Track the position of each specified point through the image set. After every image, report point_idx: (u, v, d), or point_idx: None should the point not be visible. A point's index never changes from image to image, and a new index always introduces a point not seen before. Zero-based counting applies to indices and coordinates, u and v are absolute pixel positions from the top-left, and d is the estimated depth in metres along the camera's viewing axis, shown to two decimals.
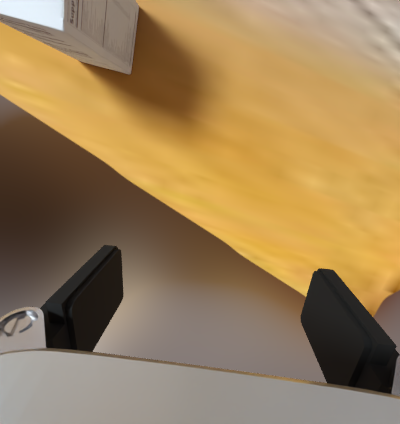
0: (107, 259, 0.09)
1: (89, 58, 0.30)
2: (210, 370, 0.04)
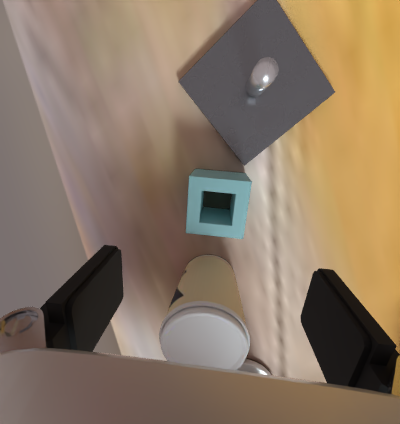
0: (107, 259, 0.09)
1: None
2: (210, 370, 0.04)
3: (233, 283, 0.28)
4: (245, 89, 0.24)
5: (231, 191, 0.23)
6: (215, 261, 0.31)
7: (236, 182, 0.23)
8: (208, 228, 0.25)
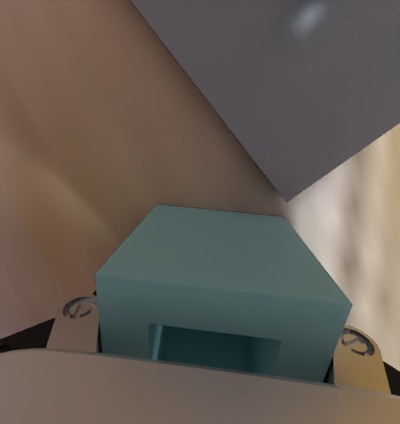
0: None
1: None
2: (210, 370, 0.04)
3: None
4: None
5: (263, 331, 0.06)
6: None
7: (286, 303, 0.06)
8: None
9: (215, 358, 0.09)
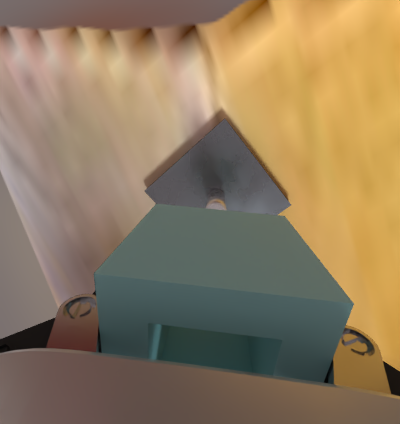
0: None
1: None
2: (210, 370, 0.04)
3: None
4: (207, 200, 0.26)
5: (264, 331, 0.06)
6: None
7: (287, 303, 0.05)
8: None
9: (215, 358, 0.09)
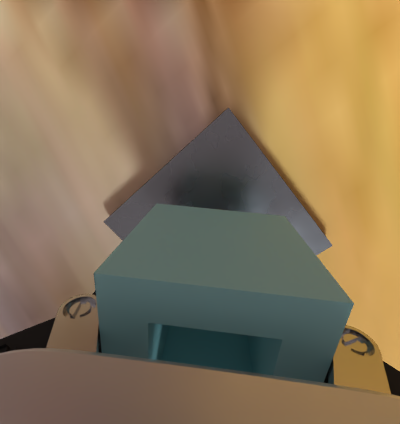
0: None
1: None
2: (210, 370, 0.04)
3: None
4: None
5: (264, 331, 0.06)
6: None
7: (287, 302, 0.05)
8: None
9: (215, 358, 0.09)
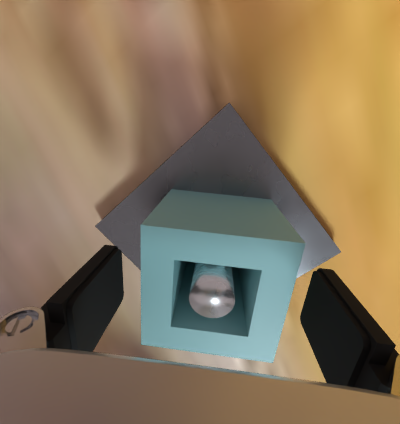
0: (107, 259, 0.09)
1: None
2: (210, 370, 0.04)
3: None
4: None
5: (250, 264, 0.09)
6: None
7: (264, 243, 0.09)
8: (191, 339, 0.11)
9: None
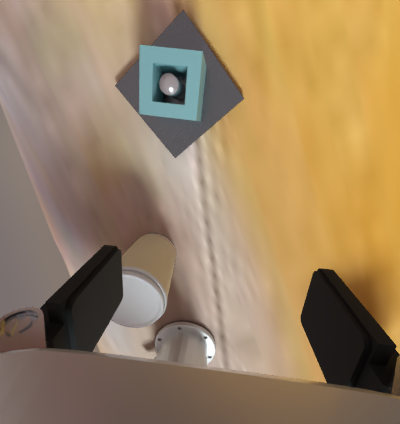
0: (107, 259, 0.09)
1: None
2: (210, 370, 0.04)
3: (166, 256, 0.34)
4: None
5: (182, 63, 0.23)
6: (156, 238, 0.36)
7: (187, 52, 0.22)
8: (161, 108, 0.24)
9: None
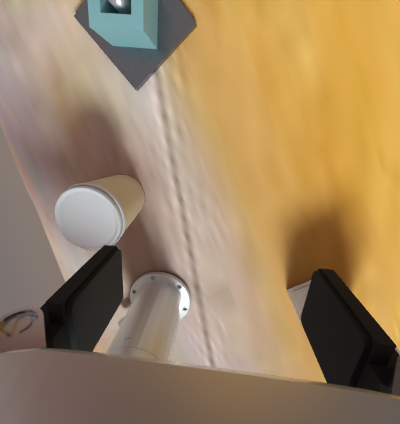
0: (107, 259, 0.09)
1: None
2: (210, 370, 0.04)
3: (129, 188, 0.34)
4: None
5: None
6: (122, 176, 0.37)
7: None
8: (109, 19, 0.25)
9: None
